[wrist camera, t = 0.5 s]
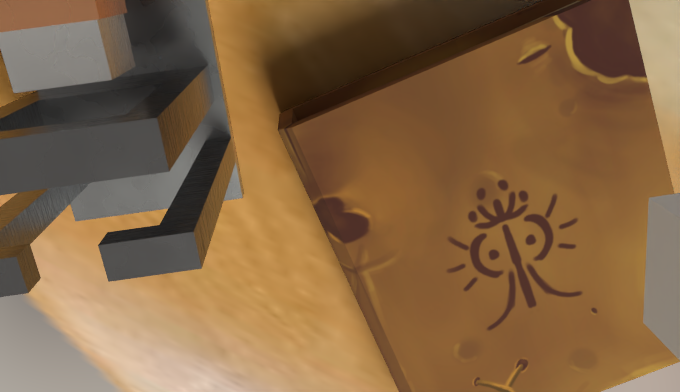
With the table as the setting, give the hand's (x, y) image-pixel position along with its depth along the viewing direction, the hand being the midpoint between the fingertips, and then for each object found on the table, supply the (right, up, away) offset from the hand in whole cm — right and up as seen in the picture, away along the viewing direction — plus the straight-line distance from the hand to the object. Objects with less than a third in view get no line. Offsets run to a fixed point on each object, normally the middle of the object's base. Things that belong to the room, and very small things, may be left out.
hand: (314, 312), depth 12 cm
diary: (+10, +1, +29) cm, 30 cm away
